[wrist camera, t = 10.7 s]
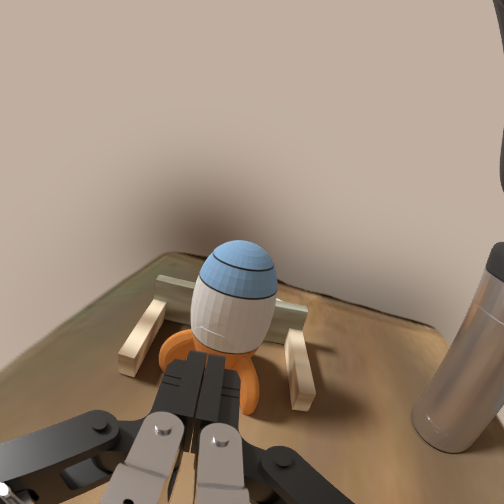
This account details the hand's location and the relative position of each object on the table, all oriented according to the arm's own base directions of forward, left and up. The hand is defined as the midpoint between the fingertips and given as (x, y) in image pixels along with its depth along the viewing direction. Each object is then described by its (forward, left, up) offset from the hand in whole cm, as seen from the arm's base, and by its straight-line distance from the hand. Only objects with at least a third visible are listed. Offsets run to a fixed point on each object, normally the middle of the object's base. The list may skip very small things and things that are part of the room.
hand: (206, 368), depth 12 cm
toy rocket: (-7, -10, -12) cm, 18 cm away
